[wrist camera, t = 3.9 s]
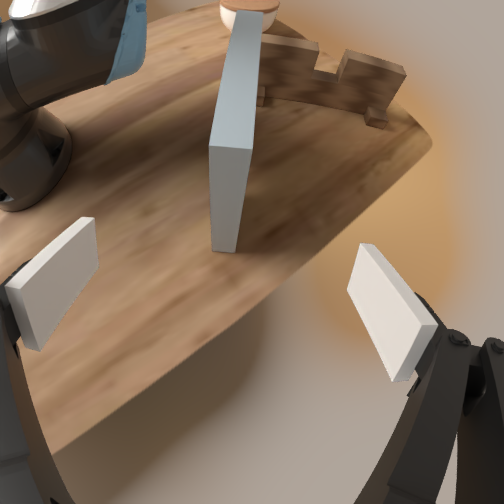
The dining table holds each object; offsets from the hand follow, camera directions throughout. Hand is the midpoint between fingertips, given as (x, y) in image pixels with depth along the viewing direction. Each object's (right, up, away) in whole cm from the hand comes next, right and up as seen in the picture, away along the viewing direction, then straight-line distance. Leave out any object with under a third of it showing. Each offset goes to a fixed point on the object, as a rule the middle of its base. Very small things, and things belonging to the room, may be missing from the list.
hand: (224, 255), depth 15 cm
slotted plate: (-1, +9, +22) cm, 24 cm away
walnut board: (+11, +24, +29) cm, 39 cm away
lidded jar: (0, +42, +35) cm, 55 cm away
